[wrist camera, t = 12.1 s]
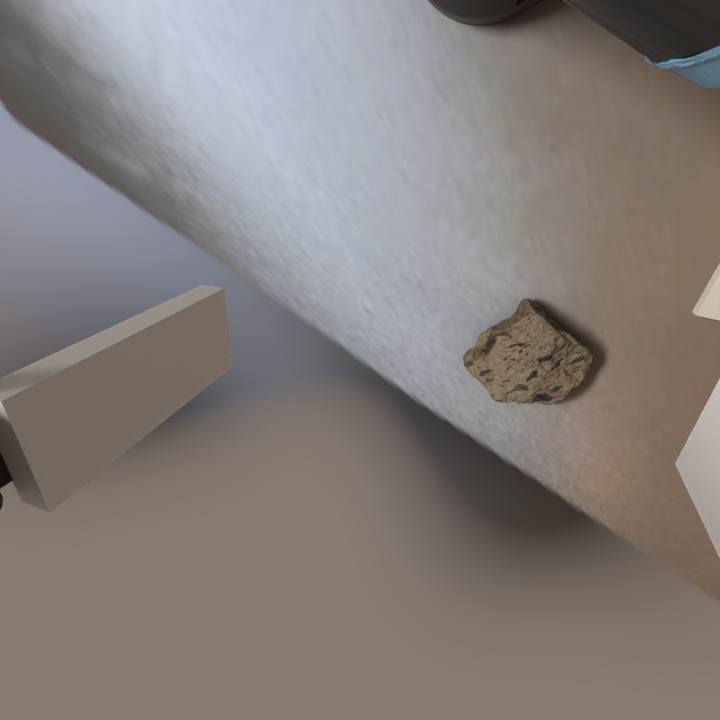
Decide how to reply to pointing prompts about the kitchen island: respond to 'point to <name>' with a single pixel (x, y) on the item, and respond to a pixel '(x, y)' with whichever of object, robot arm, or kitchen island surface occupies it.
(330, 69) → the kitchen island surface
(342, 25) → the kitchen island surface
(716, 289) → the stand
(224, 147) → the kitchen island surface
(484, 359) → the rock
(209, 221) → the kitchen island surface
